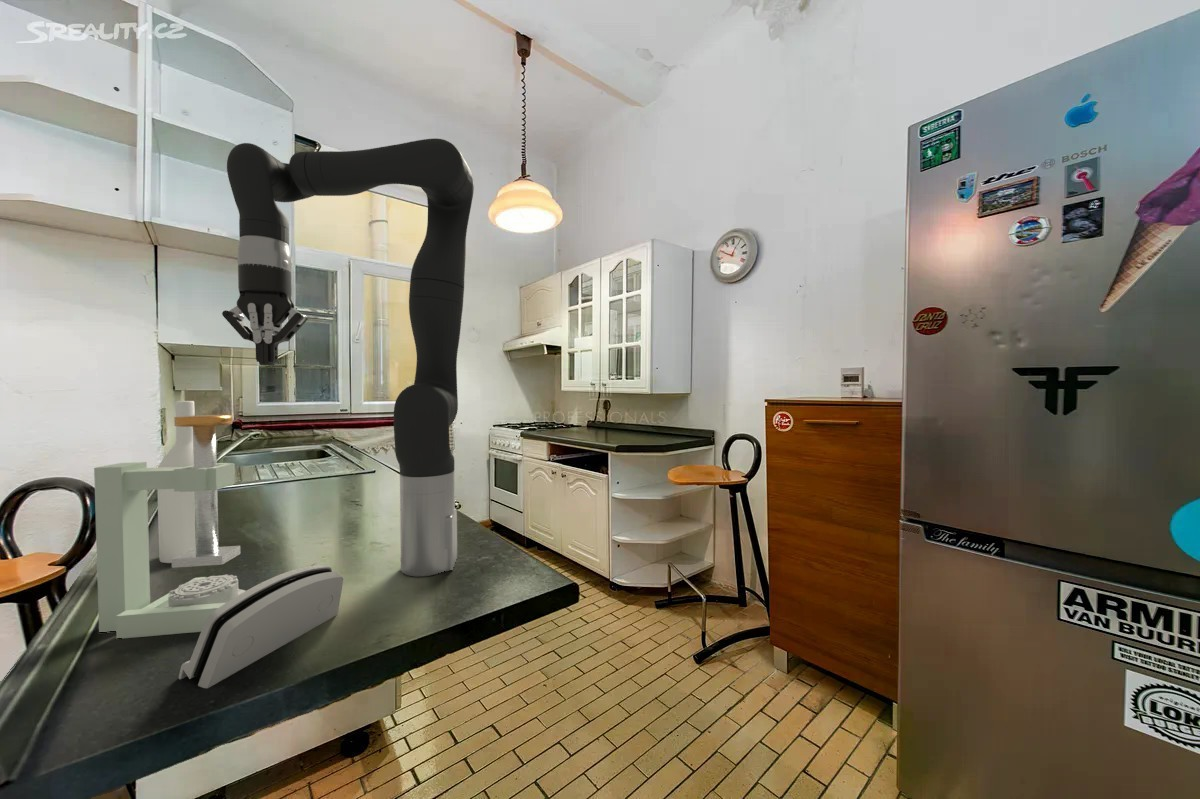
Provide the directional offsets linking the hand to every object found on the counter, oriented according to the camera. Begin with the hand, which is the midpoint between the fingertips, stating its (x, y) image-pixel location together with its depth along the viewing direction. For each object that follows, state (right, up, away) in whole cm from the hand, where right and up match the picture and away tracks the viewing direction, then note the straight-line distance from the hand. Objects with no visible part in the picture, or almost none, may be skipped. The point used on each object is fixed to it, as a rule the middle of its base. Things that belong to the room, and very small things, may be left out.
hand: (266, 365), depth 78 cm
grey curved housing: (+18, -38, -23) cm, 48 cm away
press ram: (+4, -29, -16) cm, 33 cm away
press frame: (+2, -37, -14) cm, 39 cm away
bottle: (-20, -37, +7) cm, 43 cm away
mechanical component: (+2, -37, -15) cm, 40 cm away
